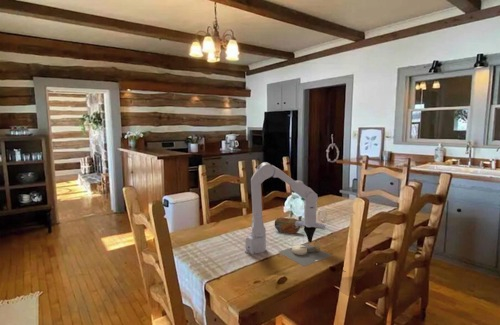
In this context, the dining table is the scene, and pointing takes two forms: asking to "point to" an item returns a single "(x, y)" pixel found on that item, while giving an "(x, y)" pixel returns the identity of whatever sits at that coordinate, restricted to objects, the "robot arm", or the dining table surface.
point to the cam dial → (305, 249)
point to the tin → (286, 225)
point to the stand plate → (305, 256)
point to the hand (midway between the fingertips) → (310, 241)
